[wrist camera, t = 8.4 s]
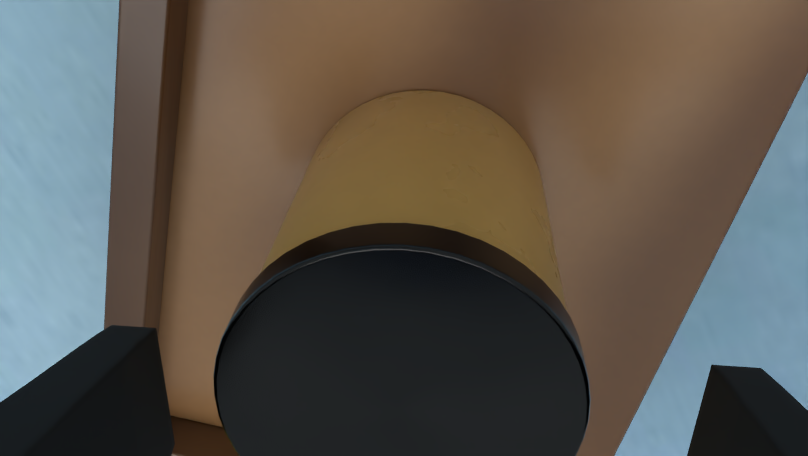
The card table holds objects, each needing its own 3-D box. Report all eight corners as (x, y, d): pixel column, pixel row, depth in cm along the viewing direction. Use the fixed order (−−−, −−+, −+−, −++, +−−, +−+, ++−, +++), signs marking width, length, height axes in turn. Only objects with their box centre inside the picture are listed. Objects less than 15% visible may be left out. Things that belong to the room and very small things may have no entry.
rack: (796, -169, 15) (967, -157, 10) (555, 393, 23) (581, 571, 17) (253, -315, 15) (135, -382, 10) (185, 307, 22) (96, 463, 17)
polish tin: (562, 88, 13) (618, 258, 8) (535, 312, 15) (567, 552, 10) (294, 78, 13) (191, 235, 8) (305, 299, 16) (229, 526, 11)
